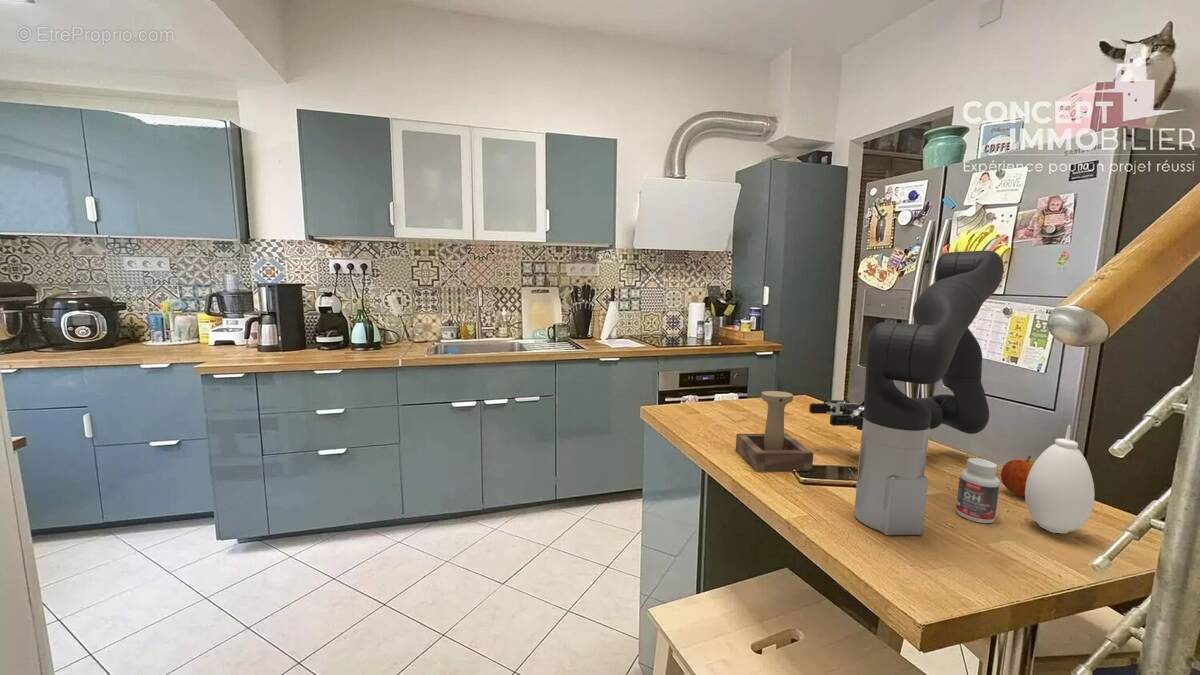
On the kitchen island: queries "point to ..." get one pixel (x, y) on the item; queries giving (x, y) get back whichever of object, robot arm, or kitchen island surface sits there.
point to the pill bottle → (978, 491)
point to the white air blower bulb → (1060, 487)
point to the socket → (773, 454)
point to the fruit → (1016, 475)
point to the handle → (775, 418)
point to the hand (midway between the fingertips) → (820, 414)
